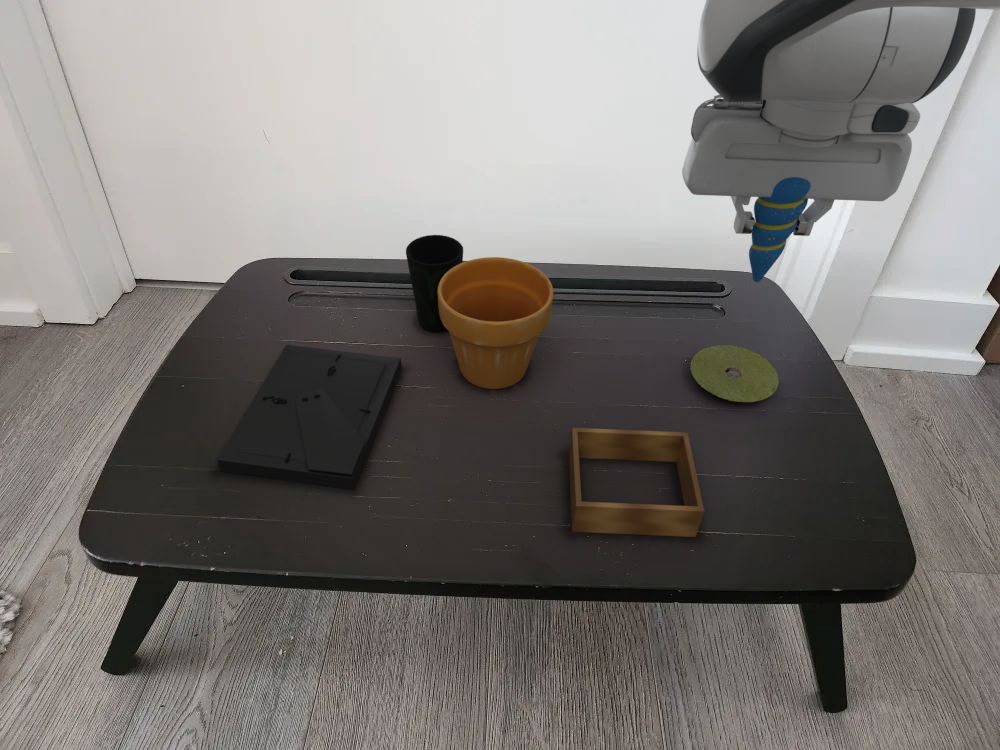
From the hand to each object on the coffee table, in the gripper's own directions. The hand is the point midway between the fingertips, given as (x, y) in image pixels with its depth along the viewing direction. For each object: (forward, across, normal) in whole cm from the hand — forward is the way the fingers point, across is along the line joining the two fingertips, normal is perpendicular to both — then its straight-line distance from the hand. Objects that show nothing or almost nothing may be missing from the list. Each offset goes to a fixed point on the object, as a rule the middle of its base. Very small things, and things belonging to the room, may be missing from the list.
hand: (770, 232), depth 74 cm
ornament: (+6, 0, 0) cm, 6 cm away
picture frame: (+26, -50, -4) cm, 56 cm away
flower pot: (+26, -28, +7) cm, 39 cm away
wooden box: (+26, -12, -14) cm, 32 cm away
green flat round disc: (+26, +3, +5) cm, 27 cm away
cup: (+26, -37, +17) cm, 48 cm away
